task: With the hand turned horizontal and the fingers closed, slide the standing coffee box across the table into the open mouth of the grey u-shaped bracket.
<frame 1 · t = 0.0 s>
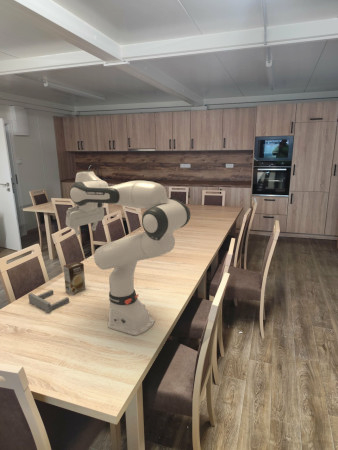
hand: (85, 232, 143), 39 cm above the table, tool pointing down, fingers open, 8 cm apart
coffee box: (75, 291, 167), on the table
grey u-shaped bracket: (52, 301, 155), on the table
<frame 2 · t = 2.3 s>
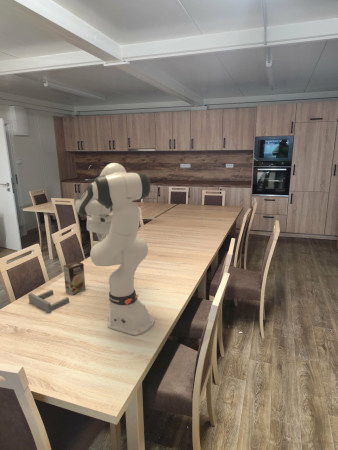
hand: (101, 241, 161), 29 cm above the table, tool pointing down, fingers closed
nothing on the table moved.
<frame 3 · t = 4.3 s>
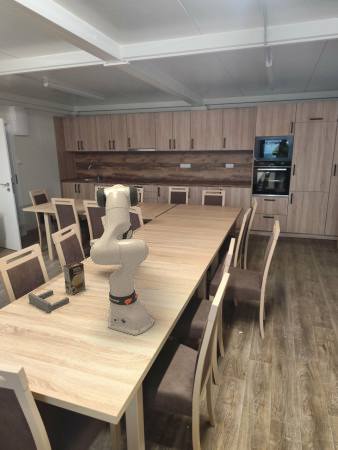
hand: (94, 248, 173), 21 cm above the table, tool horizontal, fingers closed
nothing on the table moved.
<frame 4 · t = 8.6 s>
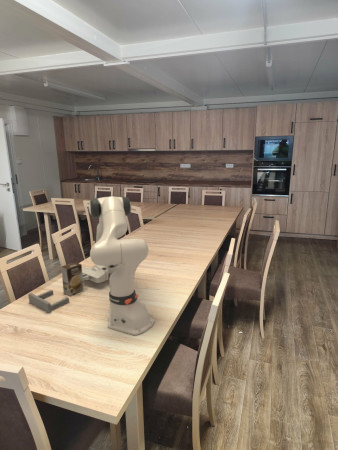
hand: (79, 279, 168), 6 cm above the table, tool horizontal, fingers closed, pressing on coffee box
coffee box: (73, 292, 166), on the table, touching gripper
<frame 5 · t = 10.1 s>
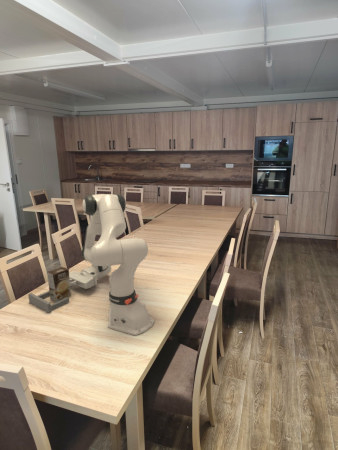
hand: (66, 284, 161), 6 cm above the table, tool horizontal, fingers closed, pressing on coffee box
coffee box: (60, 298, 159), on the table, touching gripper
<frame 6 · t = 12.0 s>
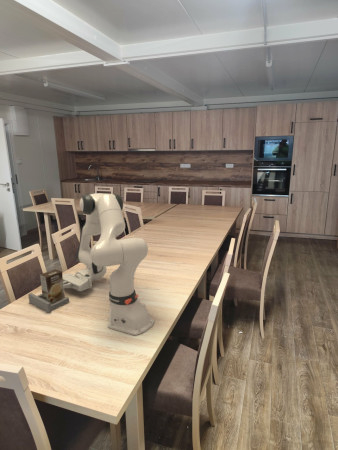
hand: (60, 287, 158), 6 cm above the table, tool horizontal, fingers closed
coffee box: (54, 301, 156), on the table
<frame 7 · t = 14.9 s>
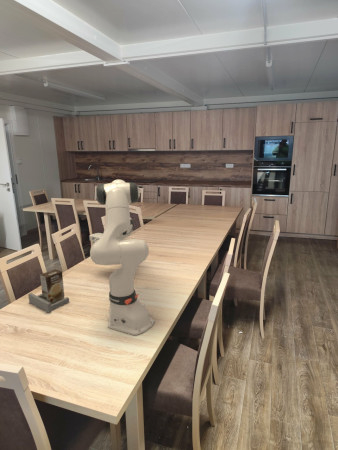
hand: (93, 242, 172), 25 cm above the table, tool horizontal, fingers closed
nothing on the table moved.
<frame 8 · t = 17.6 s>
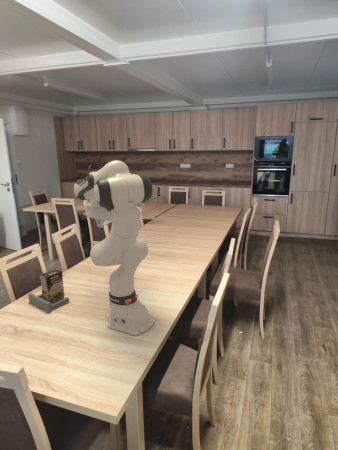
hand: (100, 227, 159), 37 cm above the table, tool pointing down, fingers closed
nothing on the table moved.
at the end: coffee box inside the target area (1.2 cm from its centre), on the table; coffee box tilted 0°; coffee box moved 13.8 cm from its start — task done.
